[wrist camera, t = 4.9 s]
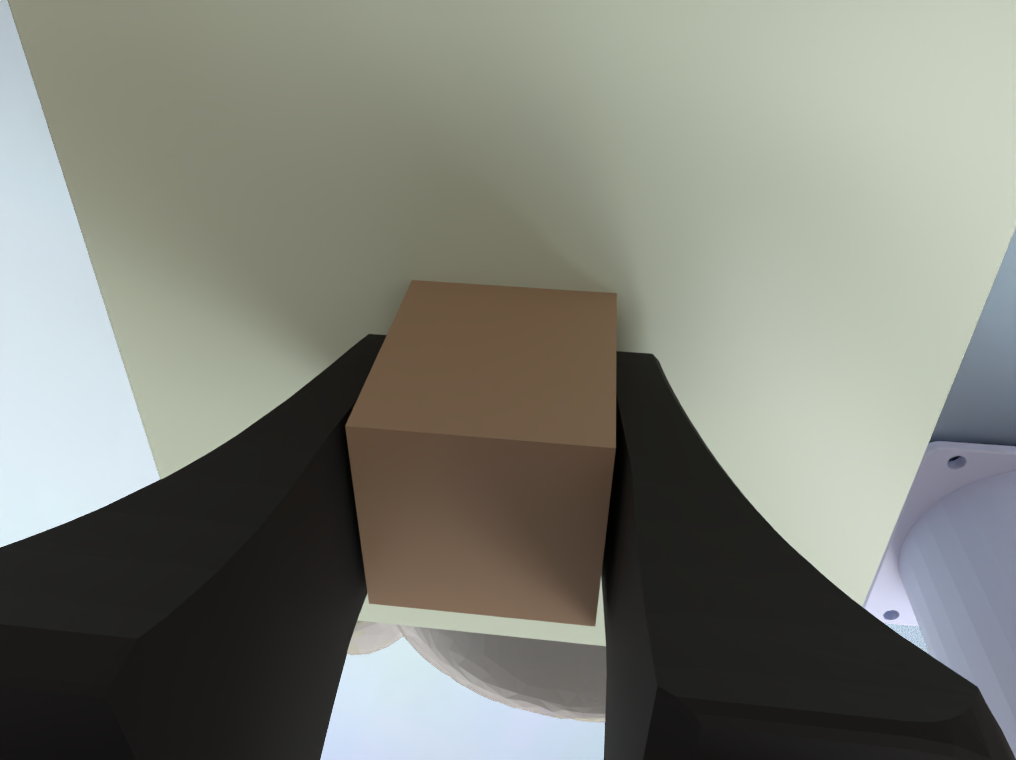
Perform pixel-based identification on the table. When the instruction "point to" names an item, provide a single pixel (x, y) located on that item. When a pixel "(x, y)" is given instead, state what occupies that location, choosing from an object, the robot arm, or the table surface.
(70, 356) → the table surface
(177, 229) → the cream flat block
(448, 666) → the teacup
